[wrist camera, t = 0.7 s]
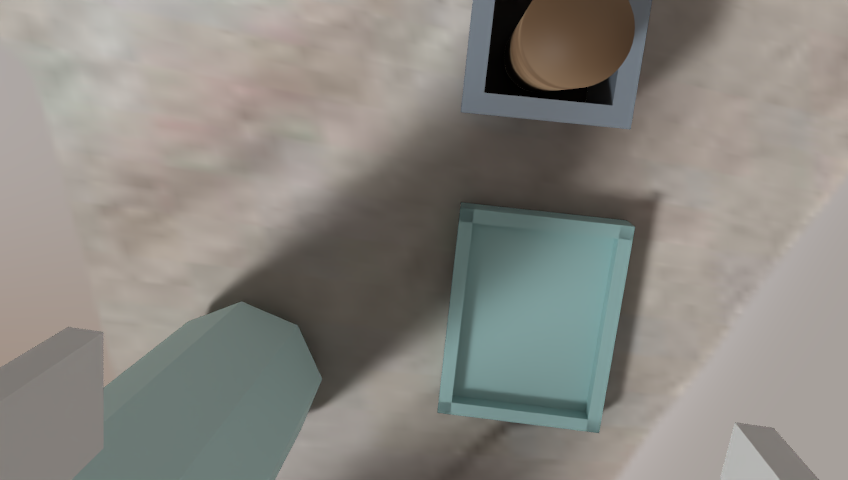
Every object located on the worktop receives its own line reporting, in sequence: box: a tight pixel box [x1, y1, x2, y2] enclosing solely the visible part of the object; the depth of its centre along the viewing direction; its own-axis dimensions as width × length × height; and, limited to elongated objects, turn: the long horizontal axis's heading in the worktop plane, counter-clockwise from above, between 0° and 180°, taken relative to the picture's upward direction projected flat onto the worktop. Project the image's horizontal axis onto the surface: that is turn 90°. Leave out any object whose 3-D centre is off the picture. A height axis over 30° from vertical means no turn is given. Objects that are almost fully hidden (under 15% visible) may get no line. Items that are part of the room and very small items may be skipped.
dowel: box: [504, 0, 635, 92], centre depth 30 cm, size 4×4×14 cm
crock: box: [461, 0, 652, 129], centre depth 33 cm, size 8×8×8 cm
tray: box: [437, 202, 635, 433], centre depth 39 cm, size 13×10×2 cm
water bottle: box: [72, 301, 322, 480], centre depth 30 cm, size 10×10×25 cm
